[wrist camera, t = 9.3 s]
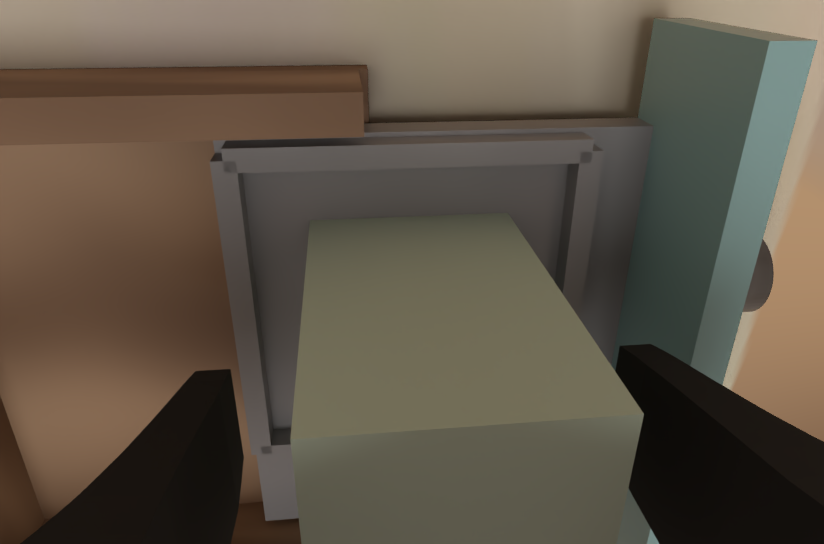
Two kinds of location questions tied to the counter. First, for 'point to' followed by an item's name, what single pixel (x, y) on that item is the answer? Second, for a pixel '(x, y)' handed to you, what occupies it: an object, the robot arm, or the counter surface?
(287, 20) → the counter surface
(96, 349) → the brown shallow rectangular box
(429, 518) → the block
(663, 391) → the robot arm
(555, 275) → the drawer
